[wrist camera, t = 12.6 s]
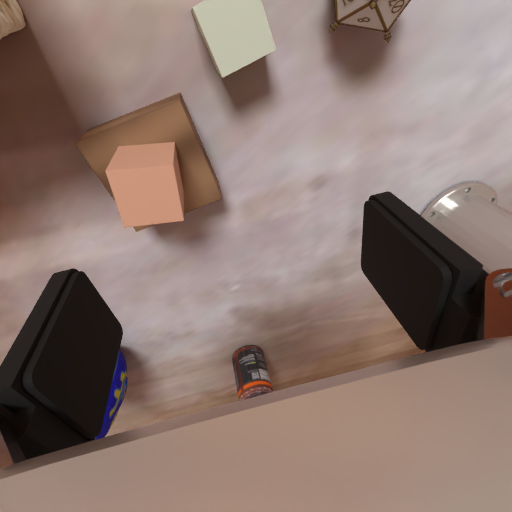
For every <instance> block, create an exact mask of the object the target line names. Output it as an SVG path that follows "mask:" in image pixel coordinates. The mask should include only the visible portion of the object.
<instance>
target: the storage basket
mask: <svg viewBox="0 0 512 512" xmlns="http://www.w3.org/2000/svg"><path fill="white" fill-rule="evenodd" d="M25 25H26V24H25V21H24V17H23V13H22V10H21V8H20V6H19V4H18V2H17V0H0V40H1V38H3V37H4V36H7V35H8V34H9V33H12V32H15V31H18V30H21V29H23V28H24V27H25Z"/></svg>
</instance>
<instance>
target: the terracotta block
mask: <svg viewBox="0 0 512 512" xmlns="http://www.w3.org/2000/svg"><path fill="white" fill-rule="evenodd" d="M105 172H106V174H107V177H108V180H109V183H110V186H111V189H112V192H113V195H114V198H115V201H116V204H117V207H118V210H119V213H120V216H121V219H122V222H123V225H124V228H125V227H134V226H143V225H151V224H160V223H169V222H177V221H184V190H183V185H182V179H181V174H180V168H179V163H178V157H177V152H176V146H175V142H167V143H154V144H142V145H129V146H118V148H117V150H116V152H115V154H114V156H113V158H112V159H111V161H110V163H109V165H108V167H107V169H106V170H105Z"/></svg>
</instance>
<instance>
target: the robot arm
mask: <svg viewBox="0 0 512 512" xmlns="http://www.w3.org/2000/svg"><path fill="white" fill-rule="evenodd" d="M361 268H362V271H363V273H364V274H365V276H366V277H367V278H368V280H369V281H370V283H371V284H372V285H373V287H374V288H375V289H376V291H377V292H378V294H379V295H380V296H381V298H382V299H383V300H384V302H385V303H386V305H387V306H388V307H389V309H390V310H391V311H392V313H393V314H394V316H395V317H396V318H397V320H398V321H399V322H400V324H401V325H402V326H403V328H404V329H405V331H406V332H407V333H408V335H409V336H410V337H411V339H412V340H413V342H414V343H415V344H416V346H417V347H418V348H419V349H421V350H424V349H425V350H426V353H421V354H417V355H413V356H409V357H405V358H401V359H397V360H393V361H389V362H385V363H382V364H378V365H374V366H370V367H366V368H362V369H359V370H355V371H351V372H347V373H343V374H339V375H336V376H332V377H328V378H324V379H320V380H316V381H313V382H309V383H305V384H301V385H297V386H294V387H290V388H286V389H282V390H279V391H275V392H271V393H267V394H264V395H260V396H256V397H252V398H248V399H245V400H241V401H237V402H233V403H230V404H226V405H222V406H219V407H215V408H211V409H207V410H204V411H200V412H196V413H192V414H189V415H185V416H181V417H178V418H174V419H170V420H167V421H163V422H159V423H156V424H152V425H148V426H144V427H141V428H137V429H133V430H130V431H126V432H122V433H119V434H115V435H111V436H108V437H104V438H100V439H97V440H95V437H97V436H98V435H99V434H100V432H101V429H102V425H103V420H104V416H105V411H106V407H107V403H108V398H109V394H110V389H111V385H112V380H113V376H114V371H115V367H116V362H117V358H118V353H119V349H120V344H121V340H122V335H123V331H122V327H121V324H120V323H119V321H118V320H117V319H116V317H115V316H114V314H113V313H112V311H111V310H110V308H109V307H108V306H107V304H106V303H105V301H104V300H103V298H102V297H101V296H100V294H99V293H98V291H97V290H96V288H95V287H94V286H93V284H92V283H91V281H90V280H89V278H88V277H87V275H86V274H85V273H84V272H82V271H80V272H79V271H78V270H76V269H69V270H65V271H61V272H57V273H54V274H53V275H52V276H51V278H50V280H49V282H48V284H47V285H46V287H45V289H44V291H43V292H42V294H41V296H40V298H39V299H38V301H37V303H36V305H35V306H34V308H33V310H32V312H31V313H30V315H29V317H28V319H27V320H26V322H25V324H24V326H23V327H22V329H21V331H20V333H19V334H18V336H17V338H16V340H15V341H14V343H13V345H12V347H11V348H10V350H9V352H8V354H7V355H6V357H5V359H4V361H3V363H2V364H1V366H0V512H512V213H511V212H509V211H508V210H506V209H504V208H502V207H500V206H498V205H497V195H496V193H495V191H494V190H493V189H492V188H491V187H490V186H488V185H486V184H484V183H481V182H465V183H461V184H459V185H456V186H454V187H452V188H450V189H448V190H446V191H445V192H443V193H442V194H440V195H439V196H438V197H437V198H435V199H434V200H433V201H432V202H431V203H430V204H429V205H428V206H427V208H426V209H425V210H424V212H423V213H422V215H421V216H420V215H419V214H418V213H416V212H415V211H414V210H413V209H411V208H410V207H409V206H407V205H406V204H405V203H404V202H402V201H401V200H400V199H399V198H397V197H396V196H395V195H393V194H392V193H391V192H384V193H380V194H376V195H371V196H370V198H369V201H366V202H365V204H364V216H363V235H362V253H361Z"/></svg>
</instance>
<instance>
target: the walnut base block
mask: <svg viewBox="0 0 512 512" xmlns="http://www.w3.org/2000/svg"><path fill="white" fill-rule="evenodd" d="M167 142H175V146H176V152H177V157H178V163H179V168H180V174H181V179H182V185H183V190H184V213H186V212H189V211H191V210H194V209H196V208H199V207H201V206H204V205H207V204H209V203H212V202H214V201H217V200H220V199H222V195H221V191H220V186H219V182H218V180H217V177H216V175H215V173H214V170H213V168H212V166H211V163H210V161H209V159H208V156H207V154H206V151H205V149H204V147H203V144H202V142H201V140H200V137H199V135H198V133H197V130H196V128H195V126H194V123H193V121H192V119H191V116H190V114H189V112H188V109H187V107H186V105H185V102H184V100H183V98H182V95H181V93H177V94H175V95H173V96H170V97H168V98H165V99H163V100H160V101H158V102H155V103H153V104H150V105H148V106H145V107H143V108H140V109H138V110H135V111H133V112H130V113H128V114H125V115H123V116H120V117H118V118H116V119H113V120H111V121H108V122H106V123H103V124H101V125H98V126H96V127H93V128H91V129H88V130H87V131H86V132H85V133H84V134H83V135H82V136H81V137H80V138H79V139H78V140H77V142H76V143H75V144H76V146H77V147H78V149H79V150H80V151H81V153H82V154H83V156H84V157H85V159H86V160H87V162H88V163H89V164H90V166H91V167H92V169H93V170H94V172H95V173H96V174H97V176H98V177H99V179H100V180H101V182H102V183H103V184H104V186H105V187H106V189H107V190H108V192H109V193H110V194H111V196H112V197H113V199H114V200H115V198H114V195H113V192H112V189H111V186H110V183H109V180H108V177H107V174H106V172H105V170H106V169H107V167H108V165H109V163H110V161H111V159H112V158H113V156H114V154H115V152H116V150H117V148H118V146H129V145H142V144H154V143H167ZM115 202H116V201H115ZM153 225H155V224H151V225H143V226H134V229H135V230H136V232H137V231H140V230H142V229H145V228H147V227H150V226H153Z"/></svg>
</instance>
